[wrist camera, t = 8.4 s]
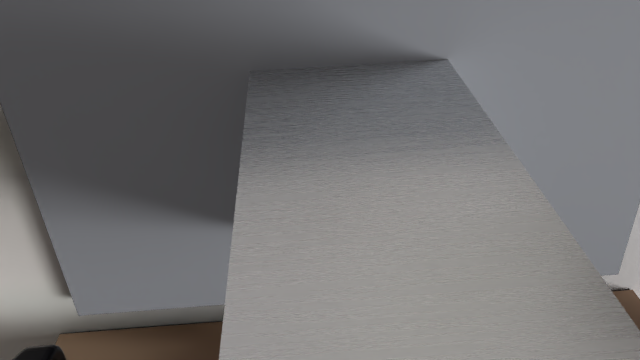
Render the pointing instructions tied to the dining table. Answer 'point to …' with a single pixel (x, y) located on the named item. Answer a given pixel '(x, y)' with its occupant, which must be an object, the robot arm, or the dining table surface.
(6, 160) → the dining table surface
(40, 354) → the robot arm
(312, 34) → the grey flat slab
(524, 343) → the steel peg
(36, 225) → the dining table surface
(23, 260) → the dining table surface
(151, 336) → the walnut socket block
